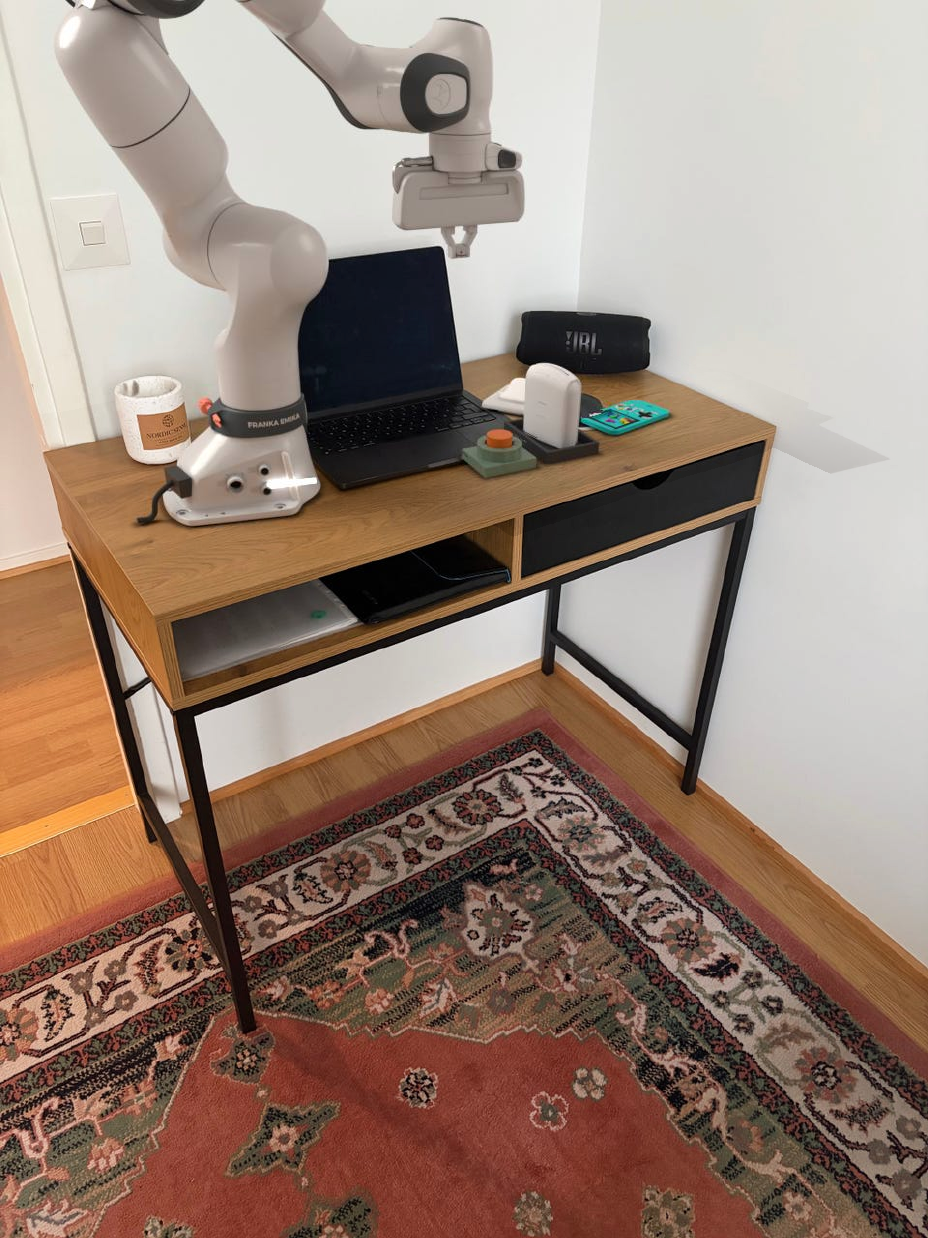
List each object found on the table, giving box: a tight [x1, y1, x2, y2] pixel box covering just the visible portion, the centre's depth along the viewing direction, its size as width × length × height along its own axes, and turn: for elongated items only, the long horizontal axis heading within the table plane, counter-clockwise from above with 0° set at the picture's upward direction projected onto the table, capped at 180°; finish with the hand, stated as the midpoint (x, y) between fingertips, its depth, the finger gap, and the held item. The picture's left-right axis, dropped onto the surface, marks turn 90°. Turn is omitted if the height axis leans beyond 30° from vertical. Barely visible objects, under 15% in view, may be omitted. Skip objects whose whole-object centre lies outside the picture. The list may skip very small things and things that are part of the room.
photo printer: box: [523, 362, 582, 449], centre depth 146 cm, size 10×4×12 cm, turn 39°
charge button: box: [486, 428, 513, 449], centre depth 141 cm, size 4×4×2 cm
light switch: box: [481, 377, 526, 416], centre depth 163 cm, size 11×4×13 cm
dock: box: [503, 417, 600, 465], centre depth 149 cm, size 10×14×2 cm
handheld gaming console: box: [580, 399, 670, 436], centre depth 159 cm, size 8×1×15 cm
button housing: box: [461, 434, 538, 479], centre depth 142 cm, size 9×8×4 cm
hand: (458, 257), depth 136 cm, fingers closed
